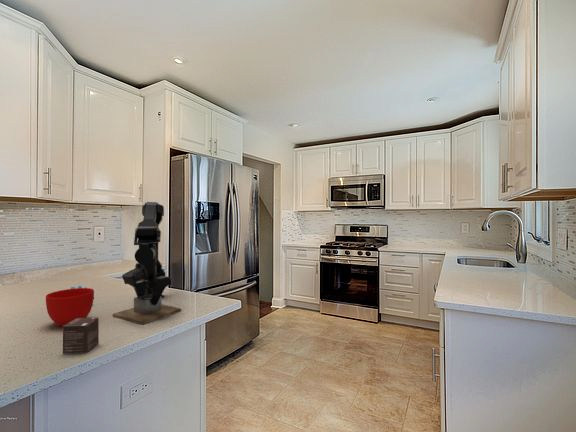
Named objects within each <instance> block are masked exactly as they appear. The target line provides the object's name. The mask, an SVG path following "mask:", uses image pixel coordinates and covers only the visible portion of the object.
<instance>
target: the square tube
mask: <svg viewBox="0 0 576 432" xmlns="http://www.w3.org/2000/svg"><path fill="white" fill-rule="evenodd" d="M144 298H150V299H144ZM161 304H162V297H160V299H159V301H158V303H157V305H153V298H152V294H148V295H144V296H140V297H137V296H136V297H133V308H134V312H136V313H140V314H144V315H147V314H150V313H153V312H156V311H159V310H161Z"/></svg>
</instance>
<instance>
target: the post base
mask: <svg viewBox="0 0 576 432" xmlns="http://www.w3.org/2000/svg"><path fill="white" fill-rule="evenodd" d="M144 299H150V298H144ZM181 311H182V308H181V307H176V306H173V305H168V304H164V303H161V310H159V311H156V312H153V313H150V314H147V315H144V314H140V313H136V312H134V307H132V308H128V309H125V310H120V311H117V312H114V313H112V317H114V318H115V319H120V320H124V321H126V322H130V323H135V324H137V325H142V326H143V325H145V324H148V323H150V322H153V321H156V320H160V319H162V318H163V319H164V318H165V317H169V316H172V315H174V314H176V313H180V312H181Z"/></svg>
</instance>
